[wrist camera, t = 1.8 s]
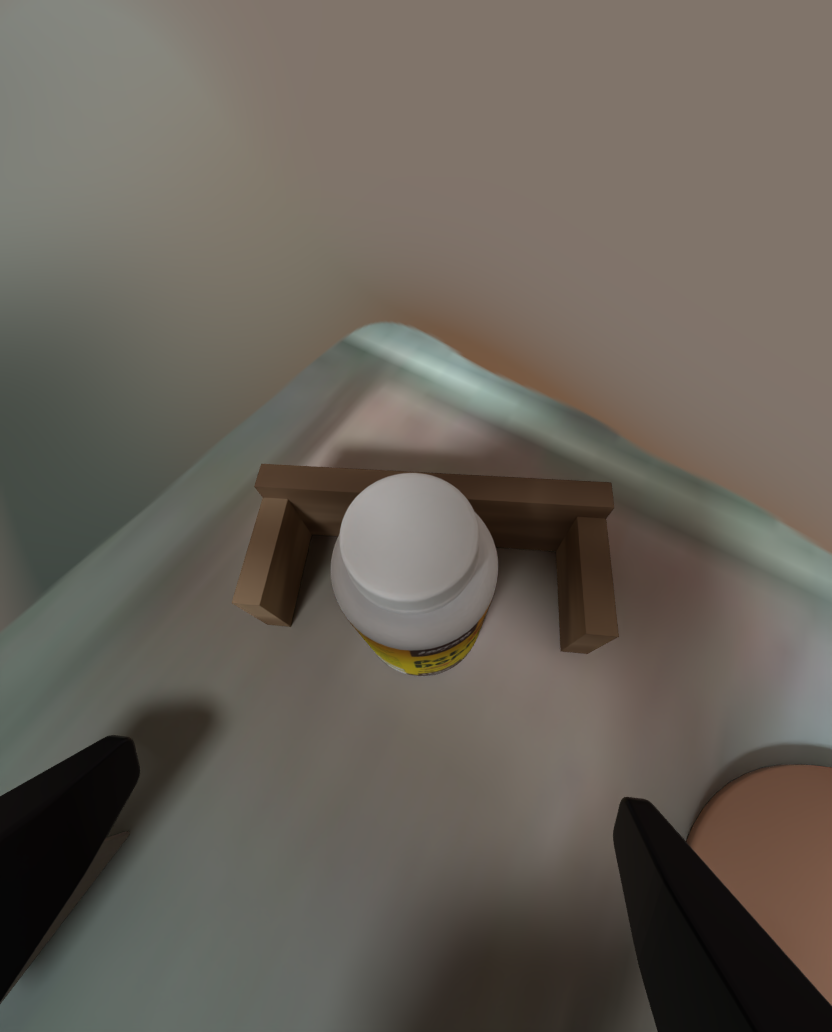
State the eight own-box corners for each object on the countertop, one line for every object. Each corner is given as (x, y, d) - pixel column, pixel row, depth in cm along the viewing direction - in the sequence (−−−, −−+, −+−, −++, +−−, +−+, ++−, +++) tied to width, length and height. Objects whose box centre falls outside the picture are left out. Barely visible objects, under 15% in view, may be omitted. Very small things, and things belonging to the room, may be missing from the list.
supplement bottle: (418, 705, 19) (394, 682, 10) (344, 613, 21) (269, 525, 12) (504, 622, 21) (552, 536, 12) (428, 543, 23) (417, 418, 14)
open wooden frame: (587, 653, 20) (628, 630, 15) (267, 624, 21) (220, 596, 17) (578, 531, 23) (611, 482, 18) (295, 513, 24) (261, 463, 20)
